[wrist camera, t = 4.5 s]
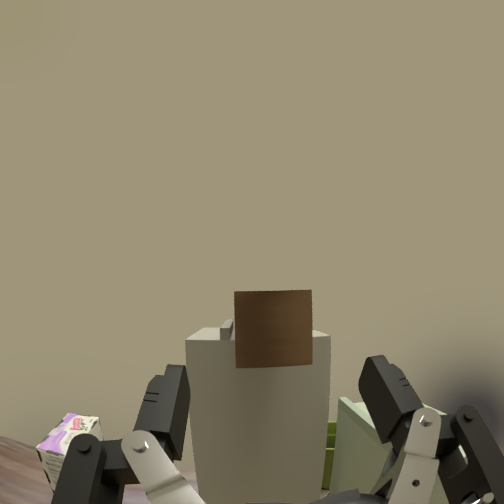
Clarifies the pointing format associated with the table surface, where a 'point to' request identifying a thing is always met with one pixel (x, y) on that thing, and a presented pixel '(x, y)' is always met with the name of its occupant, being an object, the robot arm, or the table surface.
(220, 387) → the grey stand
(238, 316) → the walnut bar
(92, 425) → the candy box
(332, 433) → the plant pot
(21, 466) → the table surface
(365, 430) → the sage box
